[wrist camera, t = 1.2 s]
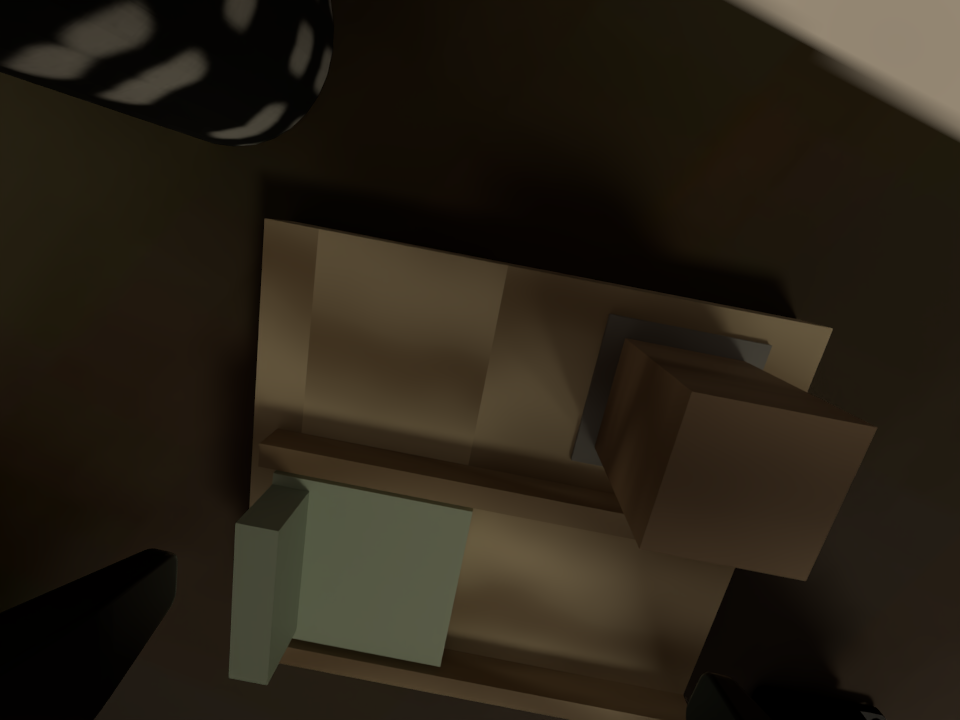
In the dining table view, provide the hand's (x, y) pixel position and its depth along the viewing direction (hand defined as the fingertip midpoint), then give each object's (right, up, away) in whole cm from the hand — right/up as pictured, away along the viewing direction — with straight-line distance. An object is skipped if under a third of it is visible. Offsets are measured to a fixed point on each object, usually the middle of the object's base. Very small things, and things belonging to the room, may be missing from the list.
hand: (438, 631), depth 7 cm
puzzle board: (+2, -1, +13) cm, 13 cm away
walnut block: (+8, +3, +10) cm, 13 cm away
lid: (-4, -4, +12) cm, 13 cm away
